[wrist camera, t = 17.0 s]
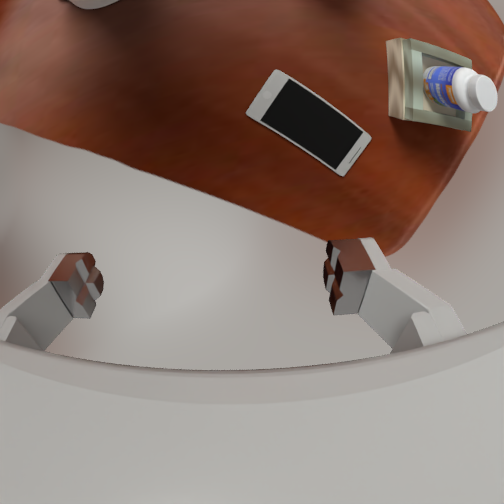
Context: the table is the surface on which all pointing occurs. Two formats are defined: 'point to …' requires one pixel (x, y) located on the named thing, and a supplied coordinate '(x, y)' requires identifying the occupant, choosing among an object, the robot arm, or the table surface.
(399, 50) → the notched stand
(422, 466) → the robot arm
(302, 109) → the smartphone
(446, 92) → the pill bottle
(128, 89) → the table surface
